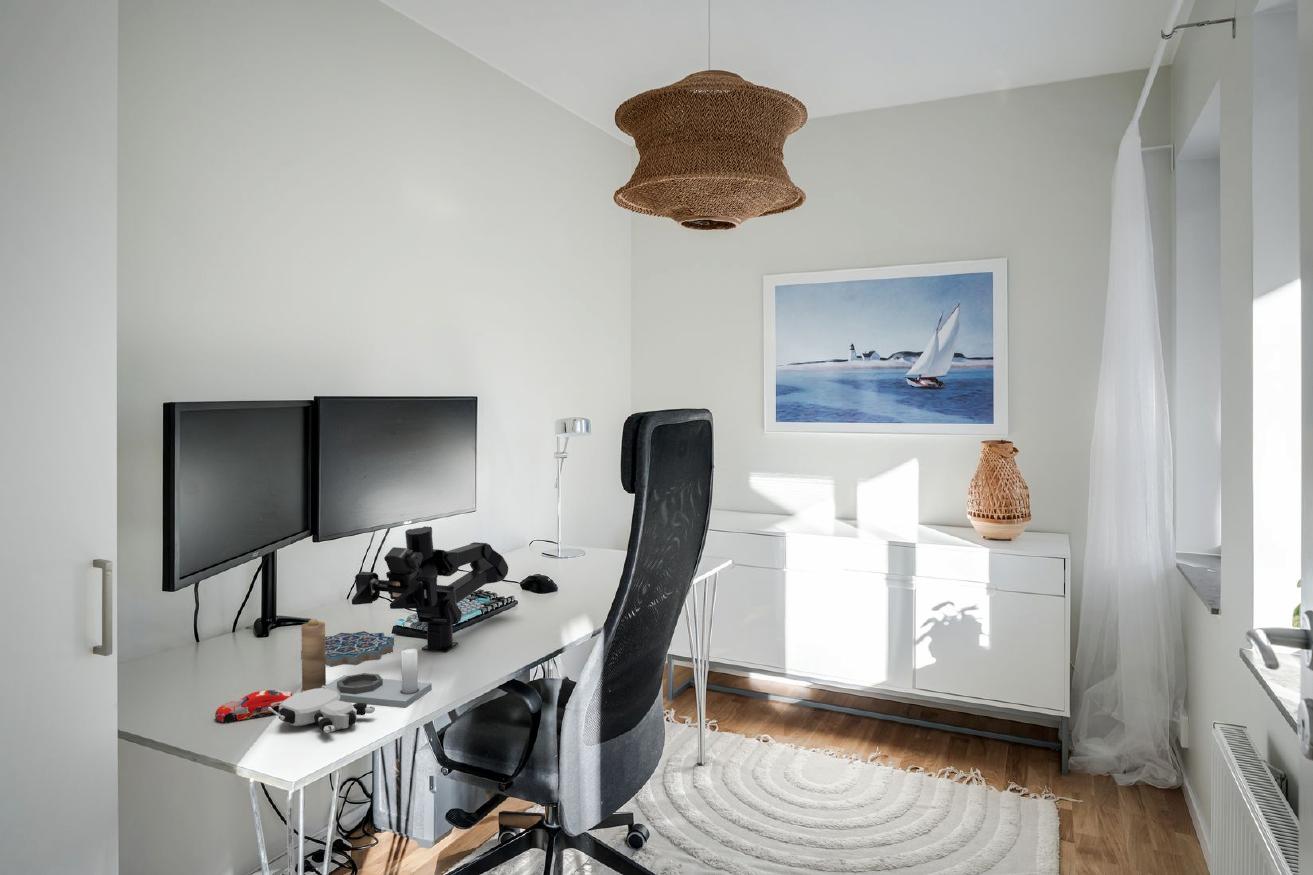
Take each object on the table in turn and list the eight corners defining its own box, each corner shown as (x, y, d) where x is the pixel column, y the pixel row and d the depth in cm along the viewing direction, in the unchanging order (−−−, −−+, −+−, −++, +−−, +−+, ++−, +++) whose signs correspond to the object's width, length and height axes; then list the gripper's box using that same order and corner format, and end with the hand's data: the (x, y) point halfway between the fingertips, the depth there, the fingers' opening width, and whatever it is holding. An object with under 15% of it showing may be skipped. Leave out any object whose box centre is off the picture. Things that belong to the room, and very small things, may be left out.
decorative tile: (369, 635, 196) (369, 626, 196) (409, 653, 182) (409, 643, 182) (287, 653, 181) (287, 643, 181) (324, 674, 168) (324, 663, 167)
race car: (214, 727, 140) (214, 705, 140) (215, 716, 145) (215, 695, 144) (295, 713, 146) (295, 692, 146) (293, 704, 151) (293, 683, 151)
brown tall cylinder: (311, 683, 161) (310, 615, 161) (330, 684, 160) (329, 616, 160) (297, 690, 157) (296, 620, 156) (316, 692, 156) (315, 622, 155)
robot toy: (379, 723, 144) (319, 703, 150) (380, 699, 143) (320, 681, 150) (326, 749, 133) (264, 727, 139) (327, 723, 132) (265, 702, 138)
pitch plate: (344, 680, 163) (343, 637, 162) (431, 688, 158) (431, 644, 158) (313, 698, 153) (312, 651, 153) (405, 707, 149) (405, 659, 148)
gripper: (376, 540, 176) (329, 563, 162) (449, 546, 171) (407, 570, 156) (380, 587, 178) (334, 614, 164) (452, 594, 173) (411, 622, 158)
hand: (371, 604), depth 160 cm, fingers open, 9 cm apart
